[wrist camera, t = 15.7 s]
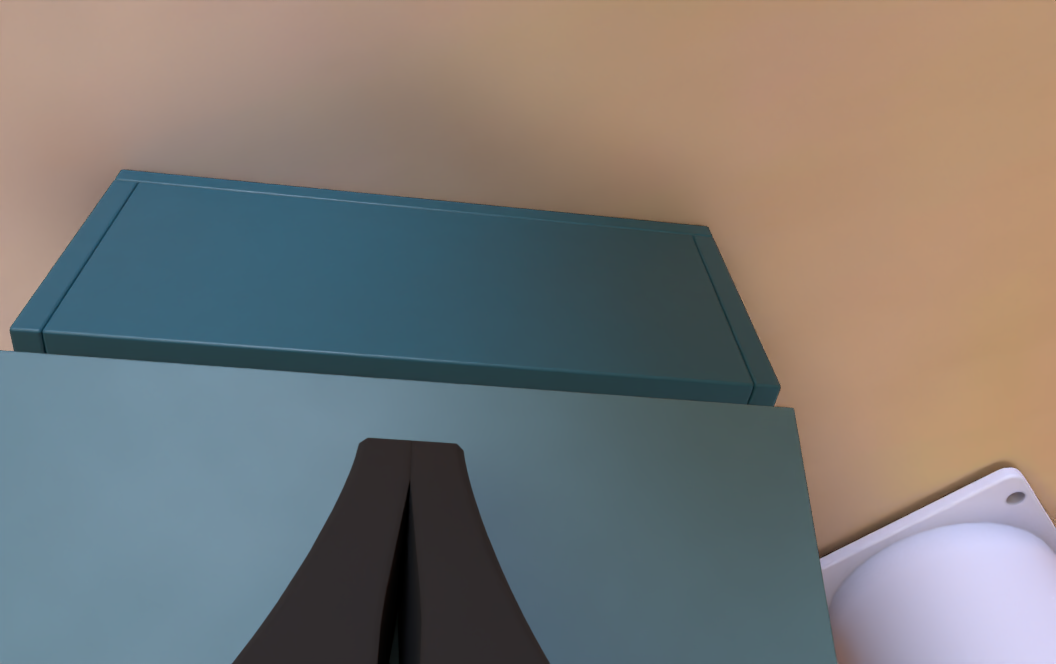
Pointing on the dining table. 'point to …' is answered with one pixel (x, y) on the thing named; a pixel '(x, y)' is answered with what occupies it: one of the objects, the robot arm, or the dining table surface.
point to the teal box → (397, 292)
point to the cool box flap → (320, 474)
